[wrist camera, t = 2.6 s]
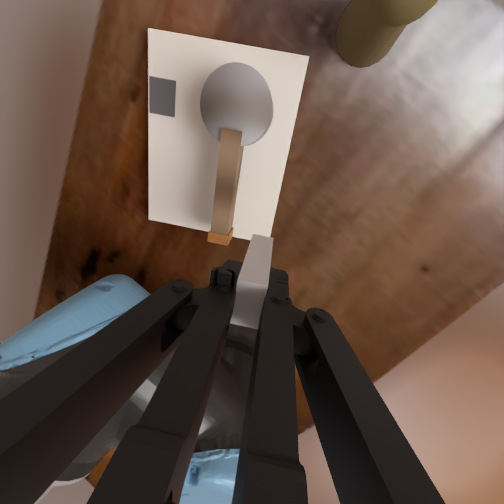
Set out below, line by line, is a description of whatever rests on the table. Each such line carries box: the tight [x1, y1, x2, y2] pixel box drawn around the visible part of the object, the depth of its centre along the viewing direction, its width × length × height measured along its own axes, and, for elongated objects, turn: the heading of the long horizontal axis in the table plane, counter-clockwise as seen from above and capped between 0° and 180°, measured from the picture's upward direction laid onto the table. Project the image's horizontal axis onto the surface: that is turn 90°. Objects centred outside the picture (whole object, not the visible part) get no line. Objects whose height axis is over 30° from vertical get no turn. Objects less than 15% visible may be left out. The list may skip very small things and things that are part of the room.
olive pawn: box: [336, 0, 438, 68], centre depth 20 cm, size 6×6×11 cm
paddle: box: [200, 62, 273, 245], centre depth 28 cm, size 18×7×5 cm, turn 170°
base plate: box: [148, 28, 309, 240], centre depth 30 cm, size 21×17×2 cm
